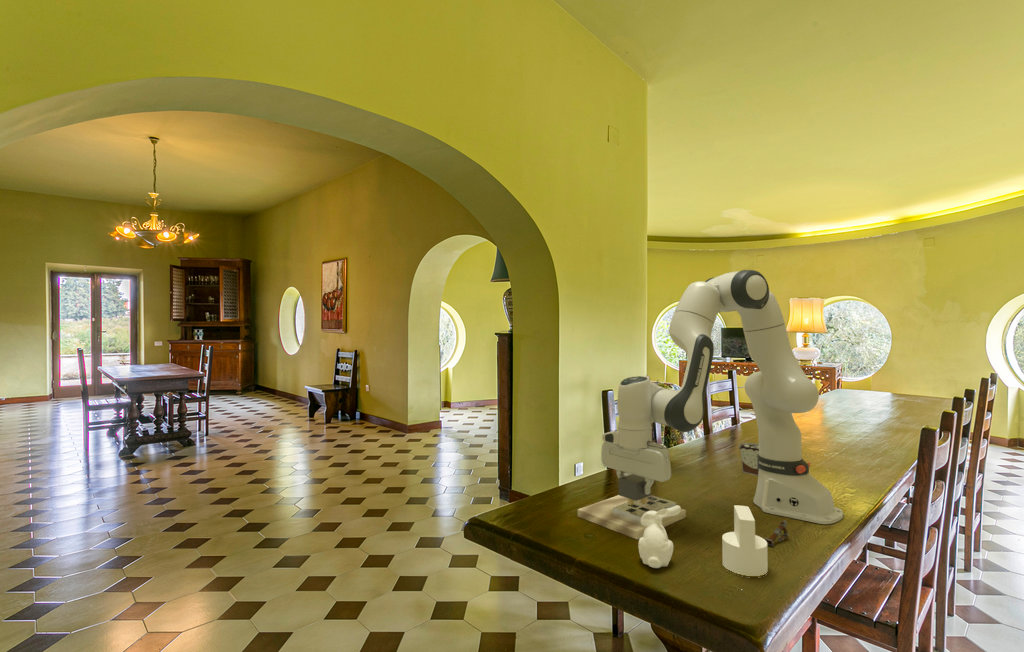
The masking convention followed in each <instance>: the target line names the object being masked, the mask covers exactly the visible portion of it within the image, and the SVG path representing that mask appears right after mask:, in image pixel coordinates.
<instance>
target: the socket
mask: <svg viewBox="0 0 1024 652" xmlns="http://www.w3.org/2000/svg"><path fill="white" fill-rule="evenodd" d="M676 505H677V502H675V501H673V500H669V499H665V498H661V497H659V496H655V495H652V494H651V496H648V497H647V504H642V503H641V499H640V500H637V501H634V504H633V505H628V502H627V503H624V504H621V505H619V506H616V507H613V517H614V518H617V519H620V520H623V521H625V522H628V523H631V524H634V525H636V526H639V527H643V526H644V525H642V524H641V517H642V515H643V514H644V513H646V512H648V511H656V512H658V511H659V510H661V509H668V508H671V507H674V506H676Z"/></svg>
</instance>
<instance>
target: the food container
mask: <svg viewBox="0 0 1024 652" xmlns="http://www.w3.org/2000/svg"><path fill="white" fill-rule="evenodd" d="M738 450H740V451H739V452H740V461H741V468H742V469H741V470H742V473H745V474H748V475H753V476H757V477H758V470H757V455H758V454H759V443H752V442H743V443H739V445H738Z"/></svg>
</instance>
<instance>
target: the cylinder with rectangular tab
mask: <svg viewBox="0 0 1024 652" xmlns="http://www.w3.org/2000/svg"><path fill="white" fill-rule="evenodd" d="M733 523H734V524H733V527H734V528H733V529H734V531H729V532H726V533H723V534H722V537H721V542H722V545H721V547H722V548H721V551H722V552H721V553H722V558H721V559H722V566H724V567H725V568H726V569H728V570H730V571H732V572H734V573H737V574H741V575H746V576H760V575H764V574H766V573H767V572H768V571H769V570H768V568H769V567H768V563H769V562H768V558H769V557H768V545H767V542H766V540H764V538H763V537H761V536H759V535H757V534H756V520H755V518H754V515H753V513H752V511H751V509H750V507H749V506H746V505H733ZM724 567H723V568H724ZM725 568H724V569H725ZM726 569H725V570H726ZM728 570H727V571H728ZM734 573H733V574H734ZM767 574H768V573H767ZM767 574H766V575H767Z"/></svg>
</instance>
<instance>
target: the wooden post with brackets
mask: <svg viewBox="0 0 1024 652" xmlns="http://www.w3.org/2000/svg"><path fill="white" fill-rule="evenodd" d="M787 526H788V521H786V520H781V521H780V523H779V526H778V527H776V528H775V529H774V530H773V533H772V534H771V535H770V536H769V537H764V538H763V539H764V540H766V542H767V546H769V547H772V548H774V546H775V544H774V543H775V541H776V539H777V538H778V540H777V541H778V543H779V542H780V543H781V542H784V540H786V538H789V532H788V530H787ZM782 531H783V534H781V533H782Z"/></svg>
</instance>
